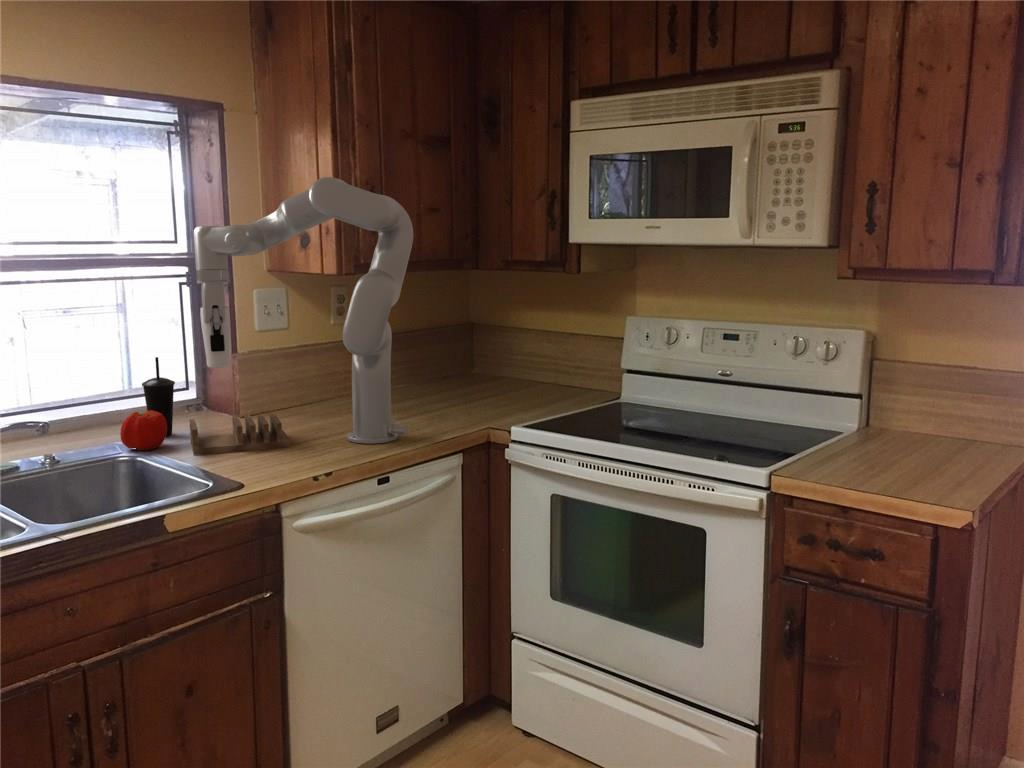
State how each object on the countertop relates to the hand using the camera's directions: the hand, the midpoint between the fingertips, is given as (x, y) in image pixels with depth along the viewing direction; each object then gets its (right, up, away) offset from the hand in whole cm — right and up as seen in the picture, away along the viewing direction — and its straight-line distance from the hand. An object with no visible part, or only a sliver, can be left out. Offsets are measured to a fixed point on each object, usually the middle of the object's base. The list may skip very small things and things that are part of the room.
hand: (217, 348), depth 213 cm
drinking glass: (0, -5, +1) cm, 5 cm away
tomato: (-14, -24, -10) cm, 30 cm away
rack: (+8, -24, -6) cm, 25 cm away
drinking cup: (-15, -22, +3) cm, 27 cm away
